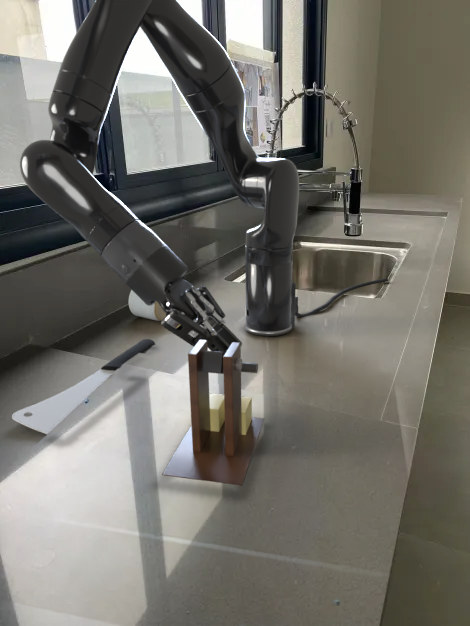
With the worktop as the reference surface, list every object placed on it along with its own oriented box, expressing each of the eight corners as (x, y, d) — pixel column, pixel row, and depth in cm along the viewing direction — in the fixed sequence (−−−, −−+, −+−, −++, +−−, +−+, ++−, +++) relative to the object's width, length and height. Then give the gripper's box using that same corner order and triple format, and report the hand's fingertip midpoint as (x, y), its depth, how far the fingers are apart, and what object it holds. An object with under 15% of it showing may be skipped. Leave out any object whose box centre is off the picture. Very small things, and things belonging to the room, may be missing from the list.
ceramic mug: (157, 326, 103) (155, 290, 101) (128, 319, 108) (126, 285, 105) (188, 313, 112) (187, 280, 110) (161, 307, 116) (159, 275, 114)
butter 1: (209, 414, 67) (208, 393, 66) (226, 416, 66) (226, 394, 65) (200, 430, 63) (199, 407, 62) (219, 432, 62) (218, 409, 61)
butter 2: (234, 417, 66) (233, 395, 65) (251, 418, 65) (251, 397, 64) (226, 433, 62) (226, 410, 61) (245, 435, 62) (245, 412, 61)
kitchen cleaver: (65, 435, 63) (5, 413, 66) (66, 447, 63) (6, 424, 67) (184, 348, 90) (137, 335, 93) (183, 356, 90) (137, 343, 94)
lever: (214, 373, 68) (216, 356, 69) (257, 377, 67) (258, 359, 67) (185, 370, 56) (187, 349, 56) (237, 375, 54) (239, 353, 55)
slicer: (199, 419, 68) (195, 324, 63) (264, 426, 66) (264, 329, 61) (162, 484, 55) (154, 370, 50) (242, 495, 53) (240, 378, 48)
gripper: (140, 253, 58) (242, 357, 60) (180, 235, 71) (263, 320, 72) (103, 294, 61) (201, 393, 62) (148, 269, 74) (228, 351, 75)
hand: (234, 353), depth 67 cm, fingers open, 3 cm apart
